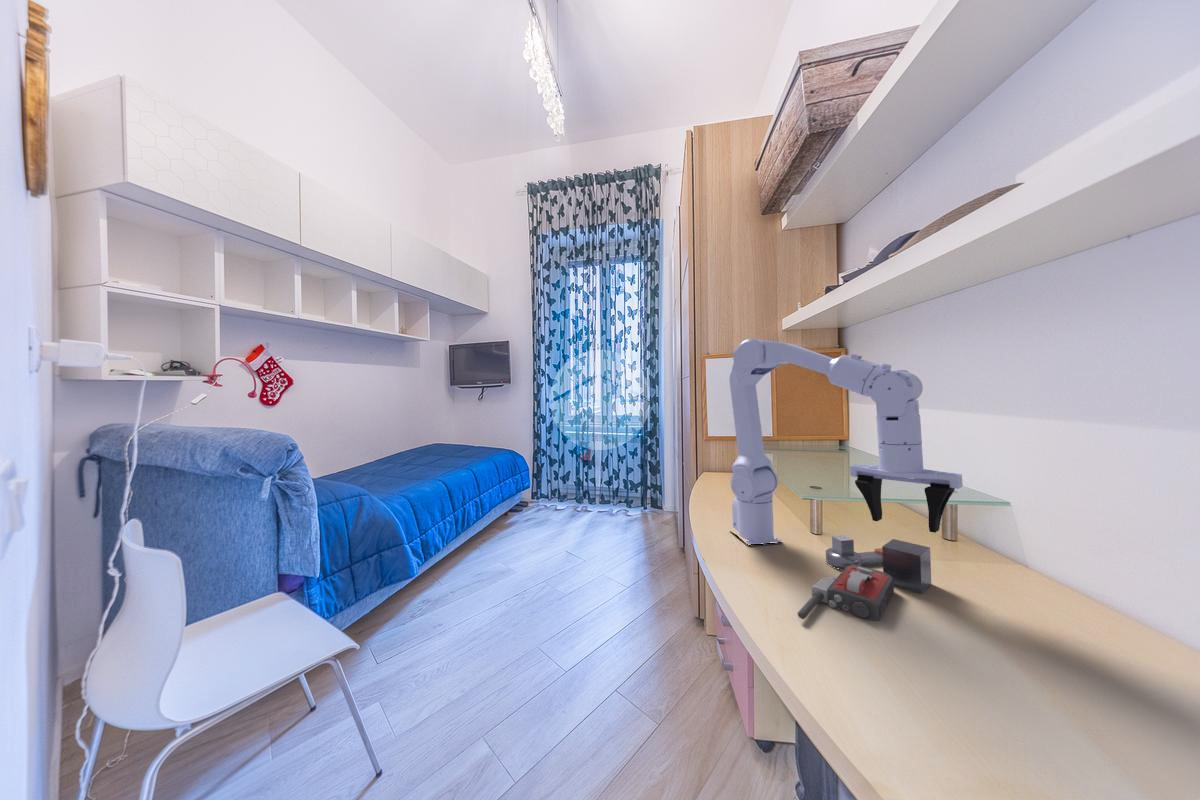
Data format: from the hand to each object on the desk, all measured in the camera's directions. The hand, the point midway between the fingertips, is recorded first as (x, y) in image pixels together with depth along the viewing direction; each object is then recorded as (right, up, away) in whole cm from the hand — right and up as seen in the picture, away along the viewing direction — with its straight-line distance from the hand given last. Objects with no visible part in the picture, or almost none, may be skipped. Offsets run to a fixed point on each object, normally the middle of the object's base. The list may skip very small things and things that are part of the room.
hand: (904, 525), depth 62 cm
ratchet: (0, -10, +8) cm, 13 cm away
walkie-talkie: (-13, -11, -5) cm, 17 cm away
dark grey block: (+1, -10, 0) cm, 10 cm away
